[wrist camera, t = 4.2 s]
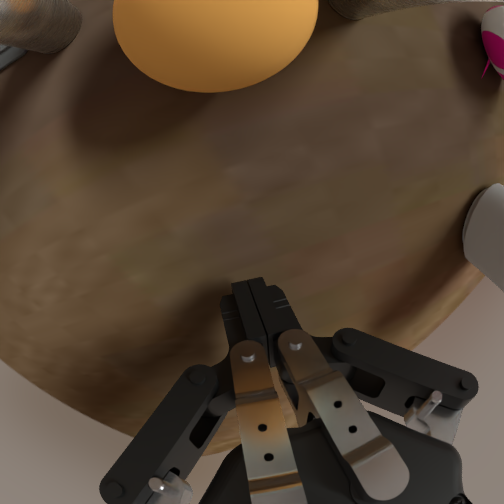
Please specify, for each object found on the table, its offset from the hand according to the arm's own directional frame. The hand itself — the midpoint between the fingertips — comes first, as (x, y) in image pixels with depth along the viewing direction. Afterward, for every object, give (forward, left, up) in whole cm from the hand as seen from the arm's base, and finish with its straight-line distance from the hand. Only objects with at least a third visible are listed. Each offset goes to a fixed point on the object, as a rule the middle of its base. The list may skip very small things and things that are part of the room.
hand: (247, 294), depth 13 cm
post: (-14, -6, -2) cm, 15 cm away
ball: (-12, 0, +2) cm, 12 cm away
